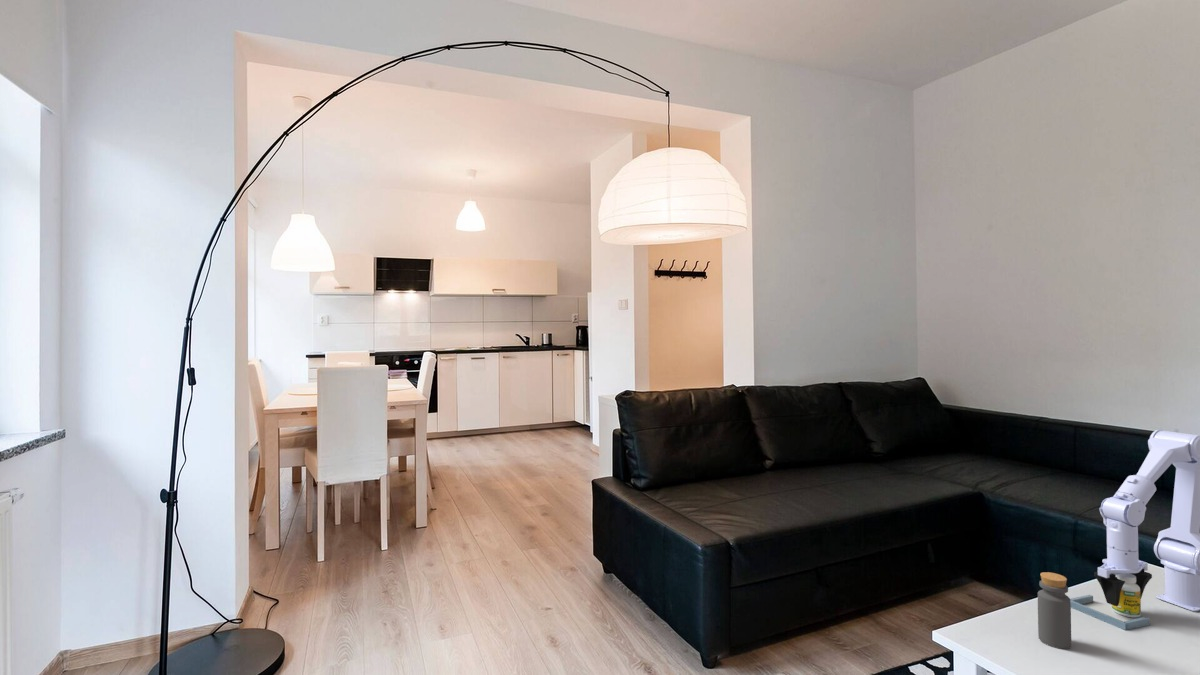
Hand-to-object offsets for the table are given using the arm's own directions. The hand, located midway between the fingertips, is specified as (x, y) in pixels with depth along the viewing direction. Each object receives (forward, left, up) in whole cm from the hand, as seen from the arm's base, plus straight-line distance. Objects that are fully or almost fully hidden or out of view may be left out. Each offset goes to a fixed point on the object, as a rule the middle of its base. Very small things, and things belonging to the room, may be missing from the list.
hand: (1123, 601), depth 139 cm
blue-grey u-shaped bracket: (+4, -1, -3) cm, 5 cm away
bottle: (+29, +4, -3) cm, 30 cm away
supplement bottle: (-1, 0, -3) cm, 3 cm away
